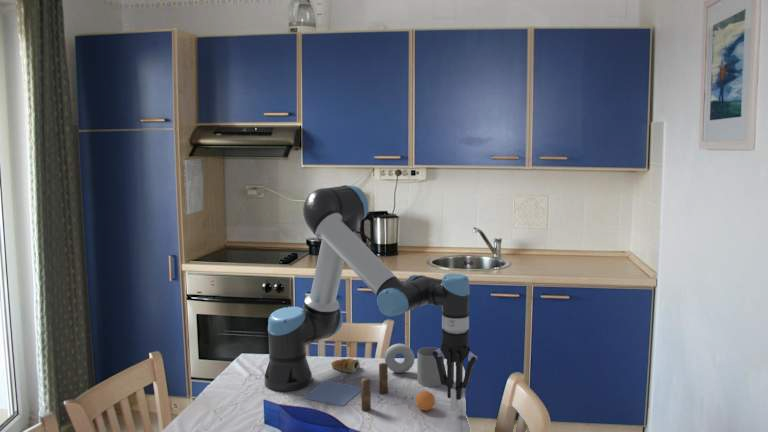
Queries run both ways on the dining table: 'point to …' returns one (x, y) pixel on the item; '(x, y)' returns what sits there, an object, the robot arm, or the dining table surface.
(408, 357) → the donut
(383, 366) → the post
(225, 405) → the dining table surface
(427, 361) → the cup
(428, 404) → the ball
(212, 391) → the dining table surface
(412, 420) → the dining table surface
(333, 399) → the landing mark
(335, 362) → the pastry
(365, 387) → the post
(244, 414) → the dining table surface
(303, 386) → the robot arm
